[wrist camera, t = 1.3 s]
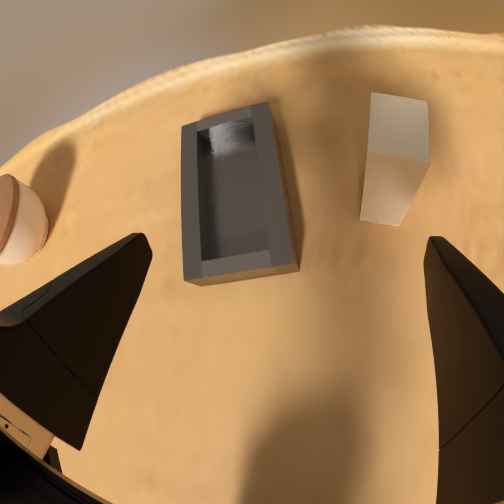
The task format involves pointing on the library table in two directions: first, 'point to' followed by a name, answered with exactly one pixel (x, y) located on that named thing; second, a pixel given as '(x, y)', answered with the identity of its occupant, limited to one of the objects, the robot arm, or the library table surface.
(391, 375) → the library table surface
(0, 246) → the lidded jar
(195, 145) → the grey rectangular tray
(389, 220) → the pale grey rectangular block
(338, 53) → the library table surface
